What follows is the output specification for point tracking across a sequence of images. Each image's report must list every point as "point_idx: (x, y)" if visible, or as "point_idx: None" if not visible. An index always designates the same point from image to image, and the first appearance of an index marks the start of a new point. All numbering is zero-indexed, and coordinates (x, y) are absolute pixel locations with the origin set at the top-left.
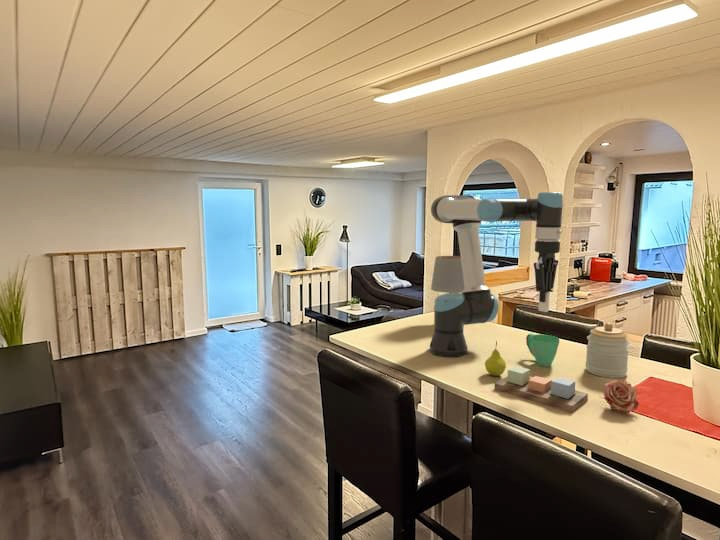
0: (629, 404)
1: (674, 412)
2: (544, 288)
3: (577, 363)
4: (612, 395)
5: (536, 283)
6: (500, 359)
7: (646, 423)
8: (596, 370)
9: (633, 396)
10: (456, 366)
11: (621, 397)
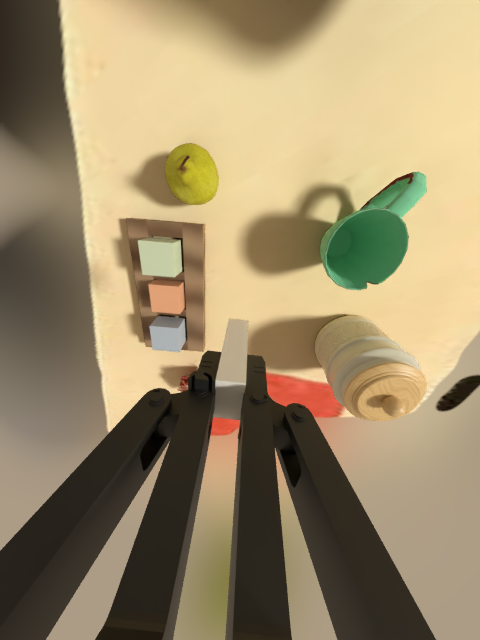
0: None
1: None
2: (163, 441)
3: (374, 295)
4: (178, 389)
5: (105, 442)
6: (186, 191)
7: None
8: (318, 339)
9: None
10: (182, 35)
11: None
